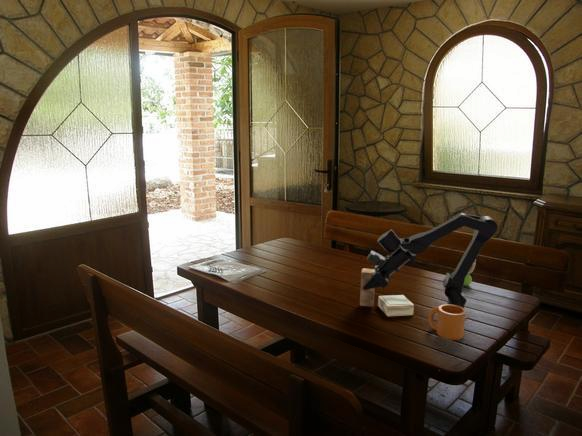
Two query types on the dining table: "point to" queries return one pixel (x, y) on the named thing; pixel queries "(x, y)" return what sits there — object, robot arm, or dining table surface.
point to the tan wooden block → (368, 294)
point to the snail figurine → (468, 277)
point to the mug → (448, 321)
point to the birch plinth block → (395, 305)
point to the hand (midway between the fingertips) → (364, 286)
